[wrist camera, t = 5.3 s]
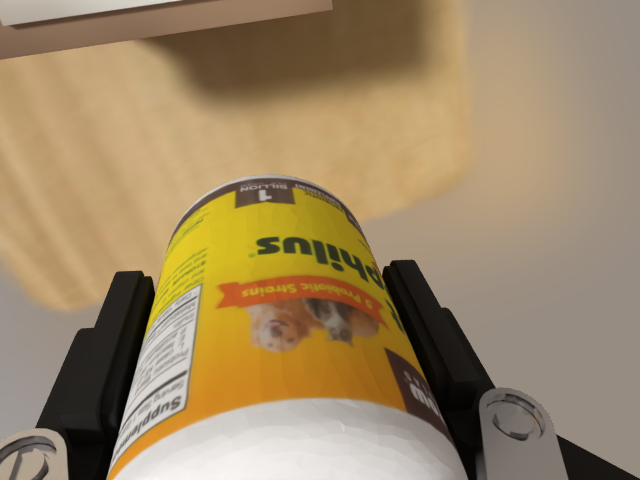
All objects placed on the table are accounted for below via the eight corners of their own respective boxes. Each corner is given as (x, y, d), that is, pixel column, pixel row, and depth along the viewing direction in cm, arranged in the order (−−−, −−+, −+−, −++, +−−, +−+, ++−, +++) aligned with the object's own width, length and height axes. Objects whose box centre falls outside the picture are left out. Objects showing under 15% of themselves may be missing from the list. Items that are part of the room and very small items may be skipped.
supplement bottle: (398, 235, 14) (666, 715, 5) (282, 347, 15) (333, 842, 7) (248, 120, 11) (271, 685, 3) (129, 269, 13) (-92, 899, 4)
